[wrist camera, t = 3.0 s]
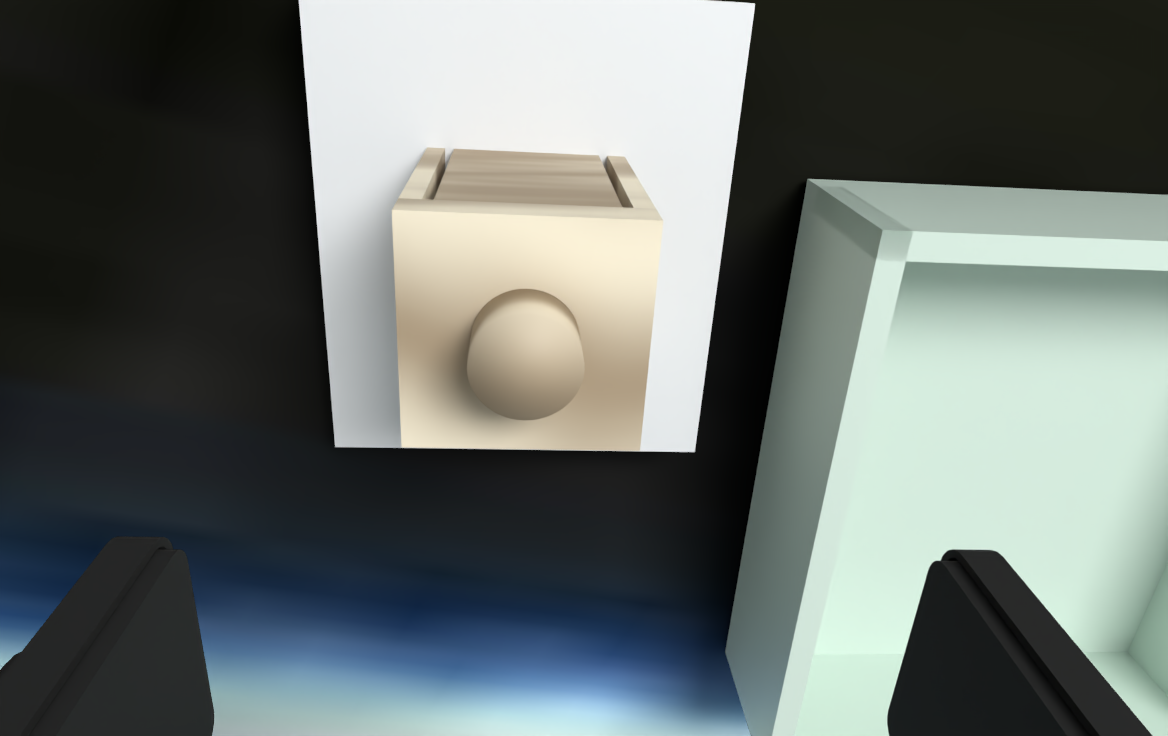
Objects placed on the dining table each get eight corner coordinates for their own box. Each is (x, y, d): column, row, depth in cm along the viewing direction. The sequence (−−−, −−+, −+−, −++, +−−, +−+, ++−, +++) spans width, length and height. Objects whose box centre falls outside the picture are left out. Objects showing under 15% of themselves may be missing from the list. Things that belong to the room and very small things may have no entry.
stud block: (314, -25, 23) (233, -28, 16) (736, 2, 24) (817, 8, 17) (346, 417, 29) (296, 543, 22) (684, 423, 30) (729, 544, 23)
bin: (807, 179, 26) (882, 230, 21) (1322, 202, 28) (1516, 255, 22) (725, 652, 35) (763, 776, 29) (1123, 648, 36) (1229, 765, 31)
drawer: (427, 147, 23) (380, 230, 15) (624, 156, 23) (675, 241, 16) (431, 331, 25) (392, 483, 18) (610, 336, 26) (648, 485, 18)
